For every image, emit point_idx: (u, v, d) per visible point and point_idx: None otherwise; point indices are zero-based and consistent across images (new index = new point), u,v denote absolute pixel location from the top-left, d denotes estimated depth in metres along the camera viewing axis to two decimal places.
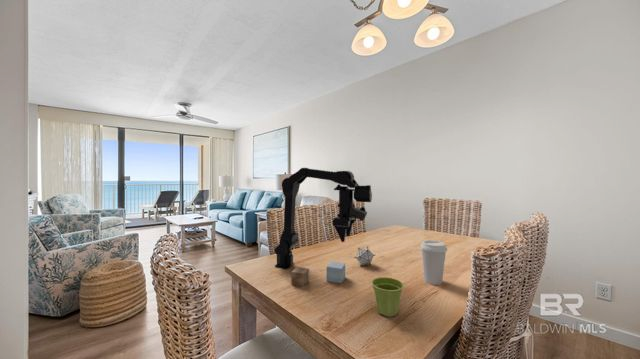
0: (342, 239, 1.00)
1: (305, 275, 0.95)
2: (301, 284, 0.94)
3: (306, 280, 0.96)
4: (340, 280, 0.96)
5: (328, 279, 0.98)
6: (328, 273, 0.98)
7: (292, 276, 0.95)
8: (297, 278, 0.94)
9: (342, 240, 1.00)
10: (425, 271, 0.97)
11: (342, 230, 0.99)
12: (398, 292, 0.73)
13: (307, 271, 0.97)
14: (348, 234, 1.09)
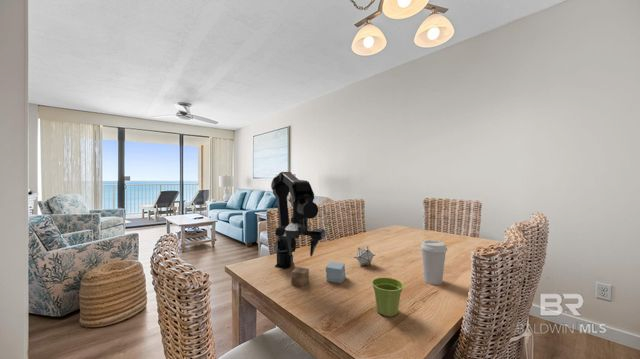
0: None
1: (305, 275, 0.95)
2: (301, 284, 0.94)
3: (306, 280, 0.96)
4: (340, 280, 0.96)
5: (328, 279, 0.98)
6: (328, 273, 0.98)
7: (292, 276, 0.95)
8: (297, 278, 0.94)
9: None
10: (425, 271, 0.97)
11: None
12: (398, 292, 0.73)
13: (307, 271, 0.97)
14: None
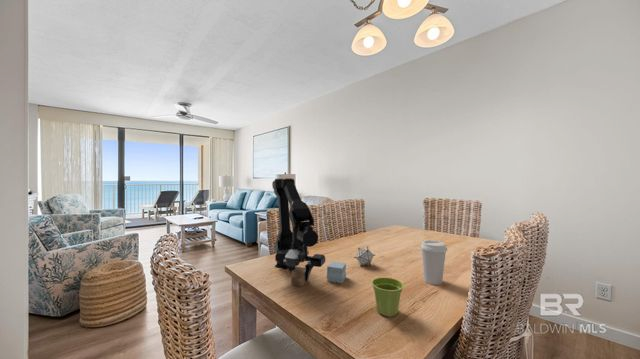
0: None
1: (305, 275, 0.95)
2: (301, 284, 0.94)
3: None
4: (341, 280, 0.96)
5: (329, 279, 0.98)
6: (329, 273, 0.98)
7: (292, 276, 0.95)
8: (297, 278, 0.94)
9: None
10: (425, 271, 0.97)
11: None
12: (398, 292, 0.73)
13: None
14: None
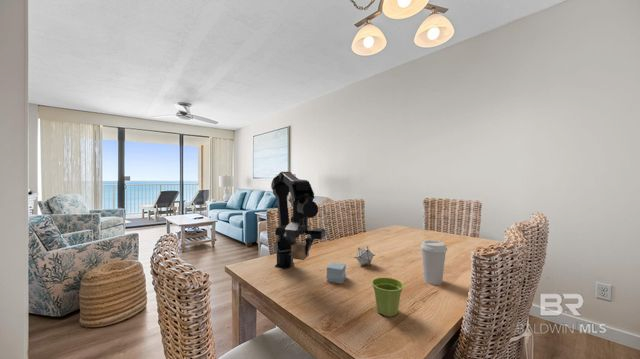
0: None
1: None
2: (301, 257, 0.93)
3: None
4: (341, 281, 0.96)
5: (329, 280, 0.98)
6: (328, 274, 0.98)
7: (292, 250, 0.94)
8: (298, 251, 0.94)
9: None
10: (425, 271, 0.97)
11: None
12: (398, 292, 0.73)
13: None
14: None
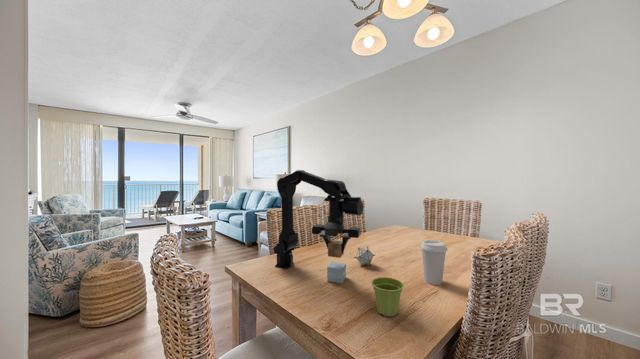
0: None
1: None
2: (338, 255, 0.97)
3: None
4: (341, 280, 0.96)
5: (329, 279, 0.98)
6: (329, 273, 0.98)
7: (329, 248, 0.98)
8: (334, 249, 0.97)
9: None
10: (425, 271, 0.97)
11: None
12: (398, 292, 0.73)
13: None
14: None
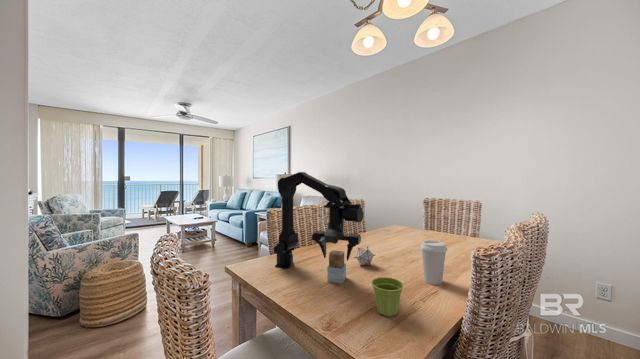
0: None
1: (342, 257, 0.99)
2: (339, 266, 0.97)
3: (343, 262, 0.99)
4: (341, 281, 0.96)
5: (329, 280, 0.98)
6: (329, 274, 0.97)
7: (330, 258, 0.98)
8: (335, 260, 0.97)
9: None
10: (425, 271, 0.97)
11: None
12: (398, 292, 0.73)
13: (343, 254, 1.00)
14: None
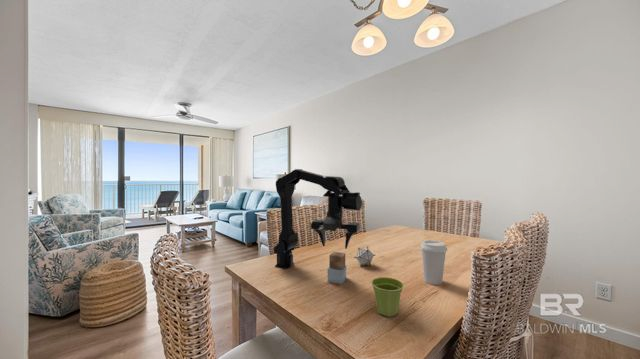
0: None
1: (343, 259, 0.98)
2: (339, 267, 0.97)
3: (343, 264, 0.99)
4: (341, 282, 0.96)
5: (329, 281, 0.97)
6: (329, 275, 0.97)
7: (330, 260, 0.98)
8: (336, 261, 0.97)
9: None
10: (425, 271, 0.97)
11: None
12: (398, 292, 0.73)
13: (344, 255, 1.00)
14: None
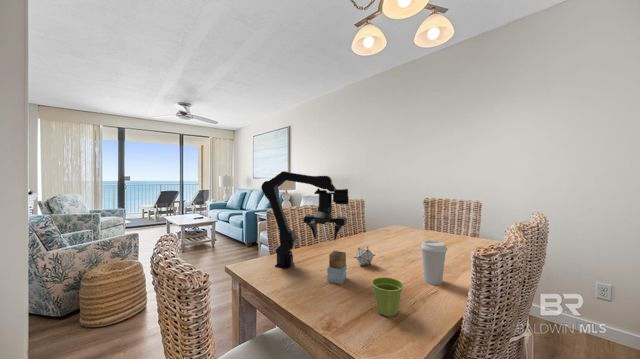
0: None
1: (343, 258, 0.98)
2: (339, 266, 0.97)
3: (343, 263, 0.99)
4: (341, 281, 0.96)
5: (329, 280, 0.97)
6: (329, 274, 0.97)
7: (330, 259, 0.98)
8: (335, 260, 0.97)
9: None
10: (425, 271, 0.97)
11: None
12: (398, 292, 0.73)
13: (344, 255, 1.00)
14: None
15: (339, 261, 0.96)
